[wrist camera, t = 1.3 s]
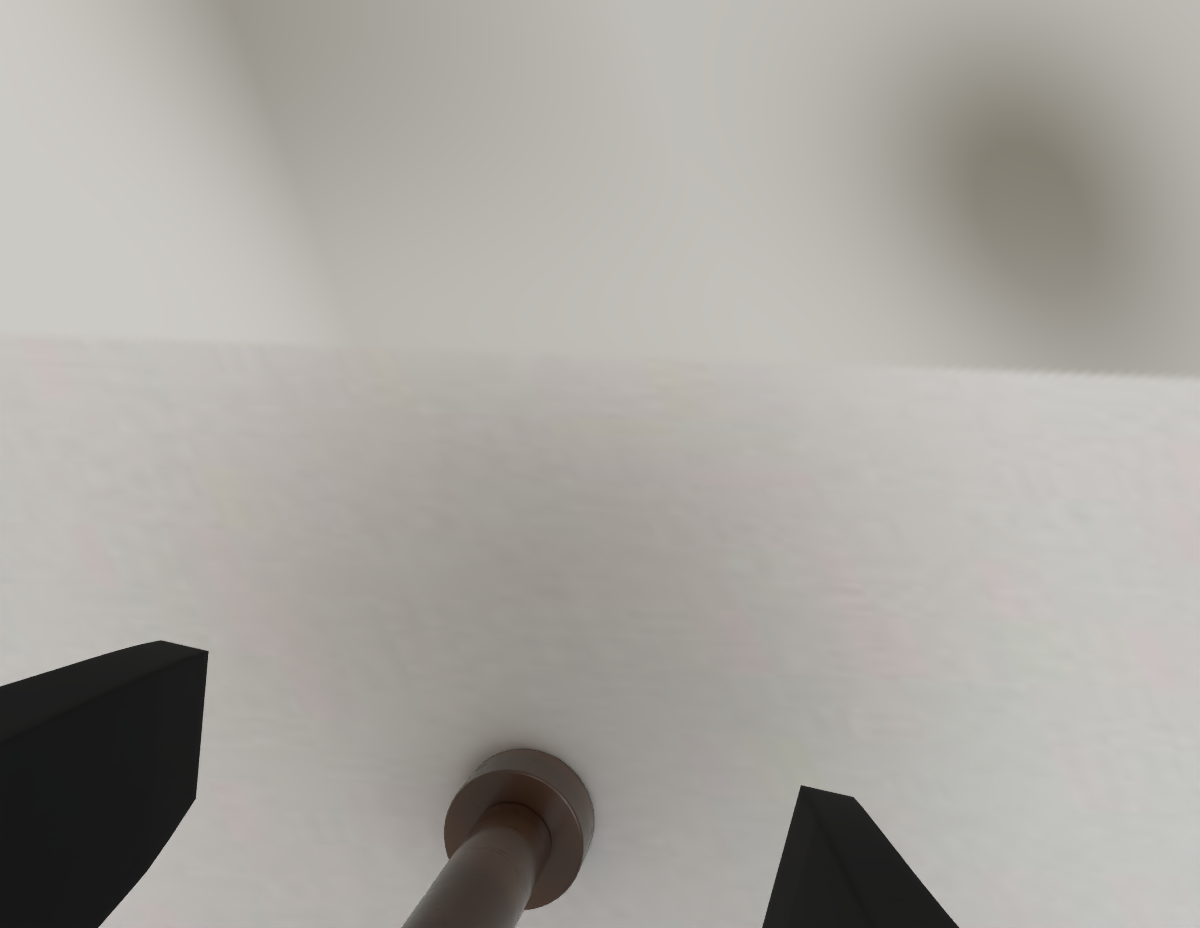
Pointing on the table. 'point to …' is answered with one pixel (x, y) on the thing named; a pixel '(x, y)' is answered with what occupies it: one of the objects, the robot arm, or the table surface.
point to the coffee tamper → (509, 843)
